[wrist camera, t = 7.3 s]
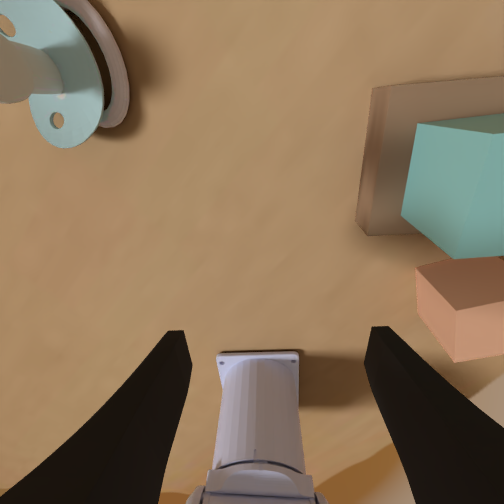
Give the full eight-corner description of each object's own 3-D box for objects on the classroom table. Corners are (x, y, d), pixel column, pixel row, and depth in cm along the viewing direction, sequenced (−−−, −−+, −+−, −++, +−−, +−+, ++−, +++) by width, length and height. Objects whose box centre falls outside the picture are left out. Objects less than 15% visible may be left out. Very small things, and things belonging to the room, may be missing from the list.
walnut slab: (468, 211, 18) (502, 229, 16) (352, 217, 19) (367, 236, 16) (515, 76, 15) (571, 70, 12) (369, 88, 15) (391, 85, 12)
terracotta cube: (481, 299, 22) (536, 348, 17) (417, 313, 23) (454, 362, 18) (486, 249, 19) (551, 291, 15) (414, 266, 20) (456, 310, 16)
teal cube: (489, 207, 15) (580, 249, 11) (400, 215, 16) (453, 259, 11) (524, 110, 13) (659, 115, 8) (417, 123, 13) (493, 134, 9)
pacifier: (90, -37, 13) (-14, 3, 13) (-34, -146, 7) (-198, -68, 8) (153, 125, 16) (67, 150, 17) (102, 134, 11) (-22, 170, 11)
